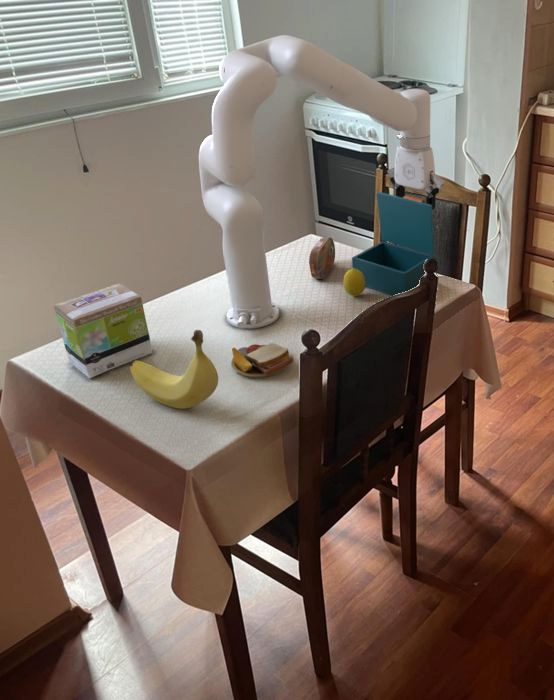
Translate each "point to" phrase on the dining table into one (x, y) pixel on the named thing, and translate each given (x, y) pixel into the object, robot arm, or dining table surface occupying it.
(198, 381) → the banana
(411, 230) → the lunchbox lid
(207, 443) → the dining table surface
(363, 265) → the box
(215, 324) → the dining table surface
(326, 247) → the tin
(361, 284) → the lemon
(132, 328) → the tea box
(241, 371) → the toy sandwich meal
